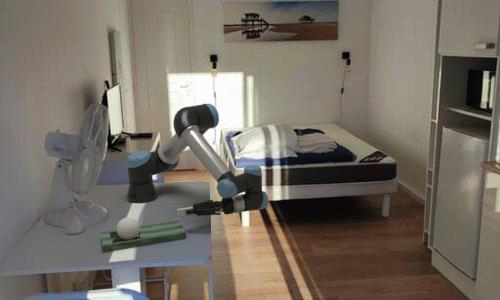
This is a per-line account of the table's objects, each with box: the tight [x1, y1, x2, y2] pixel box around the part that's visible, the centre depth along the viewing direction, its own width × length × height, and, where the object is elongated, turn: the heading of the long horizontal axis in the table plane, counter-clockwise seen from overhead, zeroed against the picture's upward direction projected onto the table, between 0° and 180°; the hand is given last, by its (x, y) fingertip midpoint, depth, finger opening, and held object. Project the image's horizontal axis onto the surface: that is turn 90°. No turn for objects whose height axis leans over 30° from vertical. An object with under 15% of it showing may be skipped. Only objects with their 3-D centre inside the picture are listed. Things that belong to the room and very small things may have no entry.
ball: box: [116, 217, 140, 240], centre depth 190 cm, size 9×9×9 cm
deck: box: [100, 220, 187, 253], centre depth 192 cm, size 14×32×2 cm, turn 109°
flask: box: [65, 207, 85, 235], centre depth 201 cm, size 7×7×10 cm
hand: (177, 212), depth 195 cm, fingers closed
